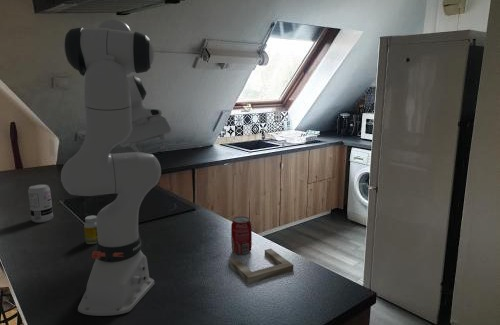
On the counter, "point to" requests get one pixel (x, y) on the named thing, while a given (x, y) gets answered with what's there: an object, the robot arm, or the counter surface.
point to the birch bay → (250, 277)
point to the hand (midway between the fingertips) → (151, 150)
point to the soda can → (241, 235)
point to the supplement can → (40, 203)
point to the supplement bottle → (90, 230)
